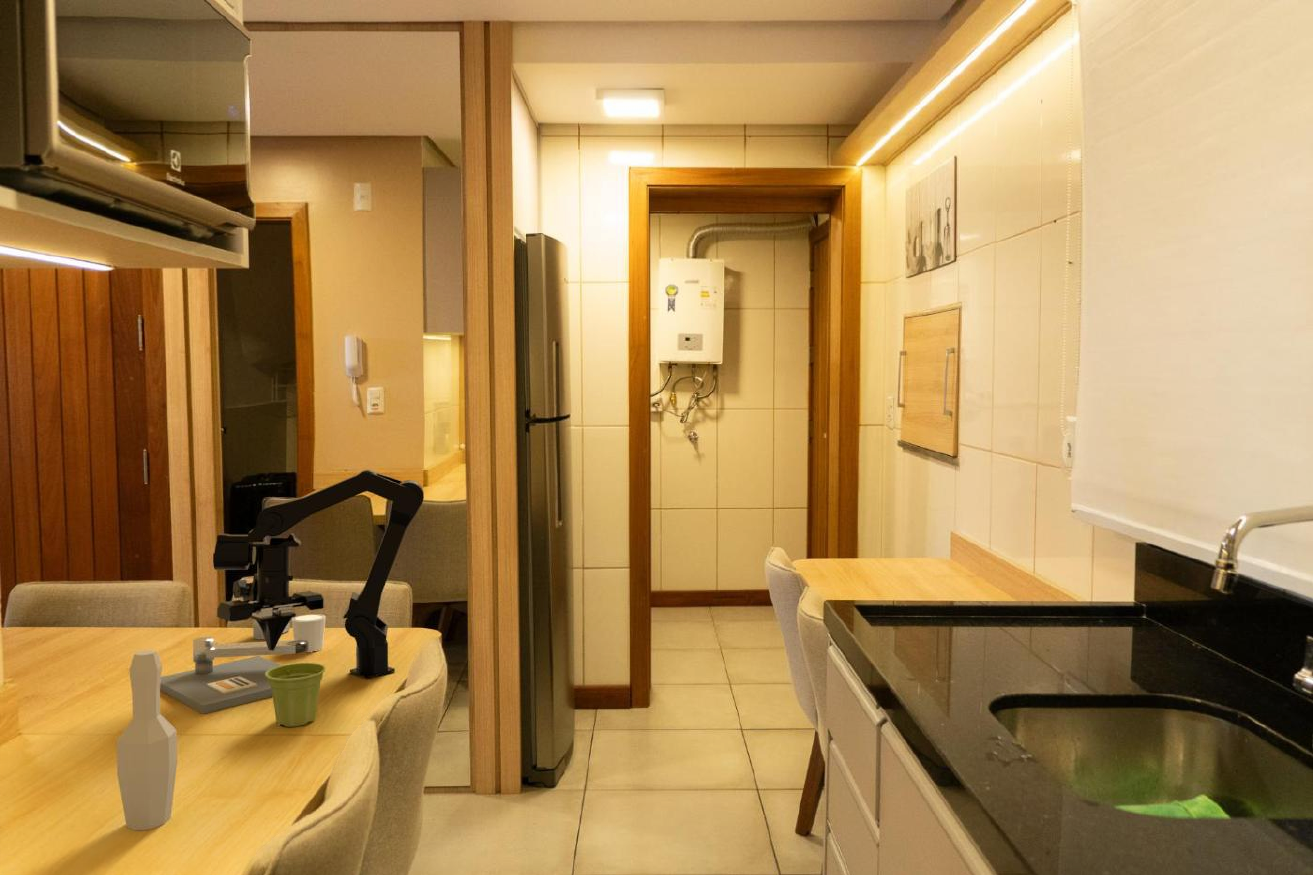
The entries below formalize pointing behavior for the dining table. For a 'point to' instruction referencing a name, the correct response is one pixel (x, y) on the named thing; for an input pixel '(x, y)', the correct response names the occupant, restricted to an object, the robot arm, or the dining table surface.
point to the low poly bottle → (147, 750)
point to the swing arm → (242, 649)
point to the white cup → (310, 630)
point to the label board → (220, 684)
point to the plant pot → (295, 692)
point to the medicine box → (258, 632)
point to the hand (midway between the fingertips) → (271, 650)
